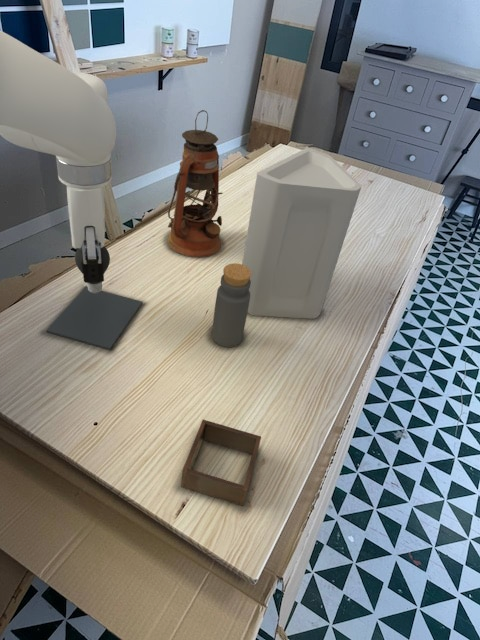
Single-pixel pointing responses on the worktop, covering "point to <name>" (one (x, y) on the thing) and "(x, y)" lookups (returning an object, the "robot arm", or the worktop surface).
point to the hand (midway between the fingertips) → (93, 269)
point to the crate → (213, 484)
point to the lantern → (196, 220)
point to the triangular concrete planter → (297, 233)
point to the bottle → (231, 305)
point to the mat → (95, 318)
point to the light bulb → (105, 256)
